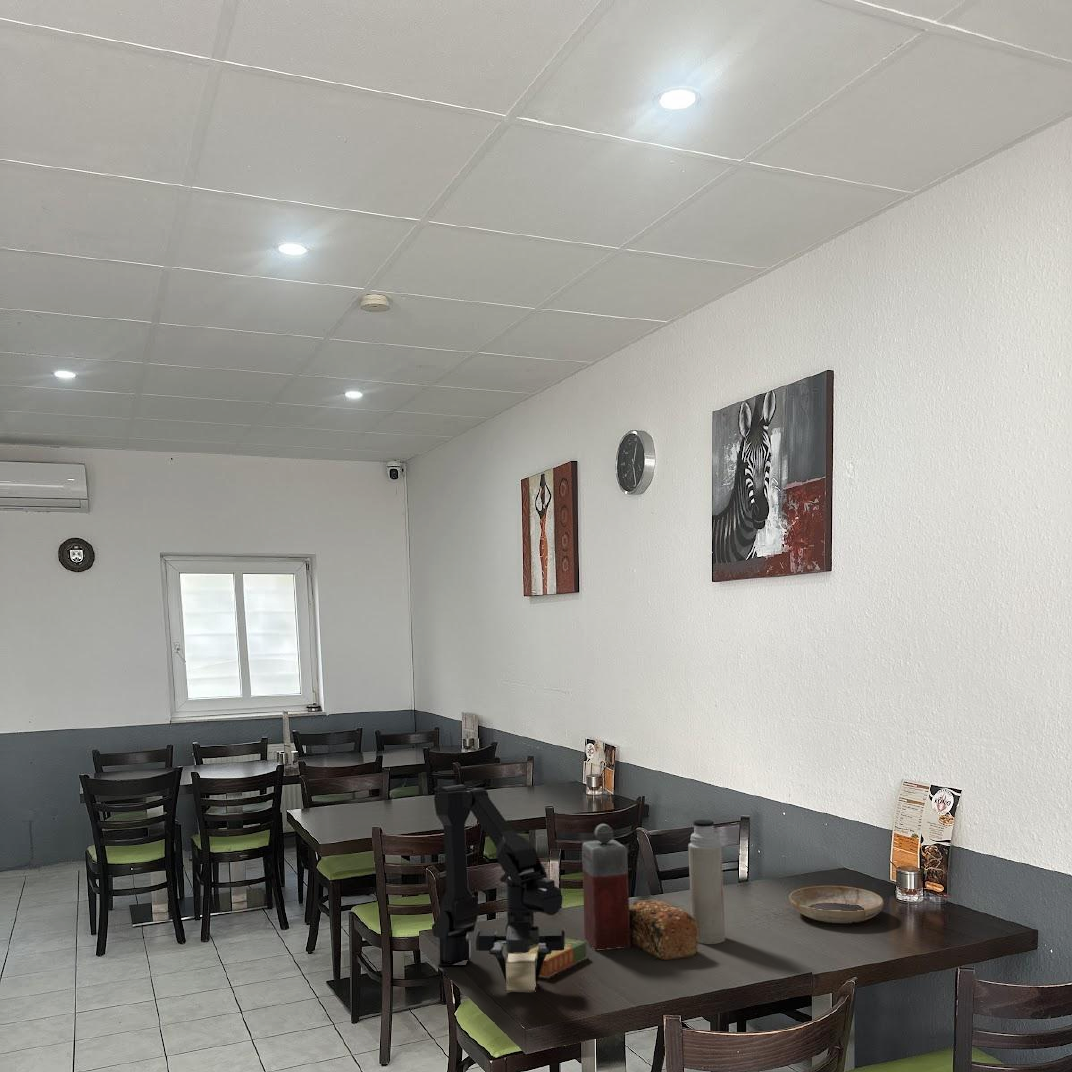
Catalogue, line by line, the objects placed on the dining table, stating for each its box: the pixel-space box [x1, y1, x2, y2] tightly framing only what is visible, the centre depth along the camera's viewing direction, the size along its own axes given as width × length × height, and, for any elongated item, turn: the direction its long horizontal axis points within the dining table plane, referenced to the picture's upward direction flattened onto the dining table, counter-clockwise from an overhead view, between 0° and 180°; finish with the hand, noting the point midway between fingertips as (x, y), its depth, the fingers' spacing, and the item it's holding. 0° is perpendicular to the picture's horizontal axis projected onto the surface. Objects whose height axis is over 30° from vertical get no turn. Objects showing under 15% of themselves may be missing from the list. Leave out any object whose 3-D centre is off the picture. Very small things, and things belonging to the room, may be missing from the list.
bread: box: [629, 899, 699, 960], centre depth 225 cm, size 19×11×10 cm, turn 22°
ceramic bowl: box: [788, 885, 884, 924], centre depth 246 cm, size 23×24×5 cm
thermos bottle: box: [688, 819, 726, 945], centre depth 231 cm, size 8×8×28 cm
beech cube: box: [505, 953, 537, 991], centre depth 201 cm, size 6×6×6 cm
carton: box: [521, 937, 588, 977], centre depth 214 cm, size 8×16×4 cm, turn 144°
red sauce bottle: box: [581, 823, 631, 950], centre depth 231 cm, size 9×11×28 cm
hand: (521, 981), depth 201 cm, fingers closed on beech cube, 6 cm apart
